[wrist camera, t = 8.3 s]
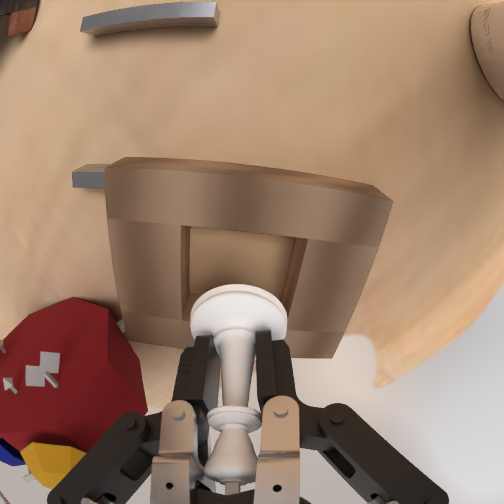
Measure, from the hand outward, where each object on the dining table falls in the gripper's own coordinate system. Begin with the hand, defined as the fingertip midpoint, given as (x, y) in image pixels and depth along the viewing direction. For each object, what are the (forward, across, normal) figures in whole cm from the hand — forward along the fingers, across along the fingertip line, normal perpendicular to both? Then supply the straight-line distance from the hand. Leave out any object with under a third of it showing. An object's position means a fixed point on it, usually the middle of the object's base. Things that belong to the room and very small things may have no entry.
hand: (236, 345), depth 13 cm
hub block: (+8, 0, 0) cm, 8 cm away
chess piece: (+2, 0, 0) cm, 2 cm away
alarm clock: (+8, +15, +4) cm, 18 cm away
